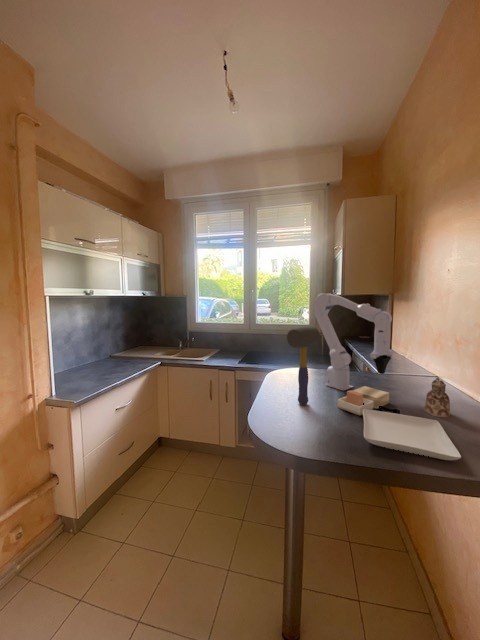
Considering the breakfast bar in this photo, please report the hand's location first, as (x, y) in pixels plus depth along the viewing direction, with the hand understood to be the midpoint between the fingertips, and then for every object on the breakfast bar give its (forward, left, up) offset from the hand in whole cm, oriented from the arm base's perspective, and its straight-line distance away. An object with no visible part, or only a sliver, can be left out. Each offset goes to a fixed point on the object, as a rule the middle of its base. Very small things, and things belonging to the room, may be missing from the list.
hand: (381, 373), depth 107 cm
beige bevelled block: (+1, -10, -9) cm, 14 cm away
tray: (+1, -20, -9) cm, 23 cm away
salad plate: (+20, -28, -10) cm, 36 cm away
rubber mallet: (-13, -33, -10) cm, 37 cm away
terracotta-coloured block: (+1, -19, -6) cm, 20 cm away
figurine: (+20, -1, -10) cm, 22 cm away
